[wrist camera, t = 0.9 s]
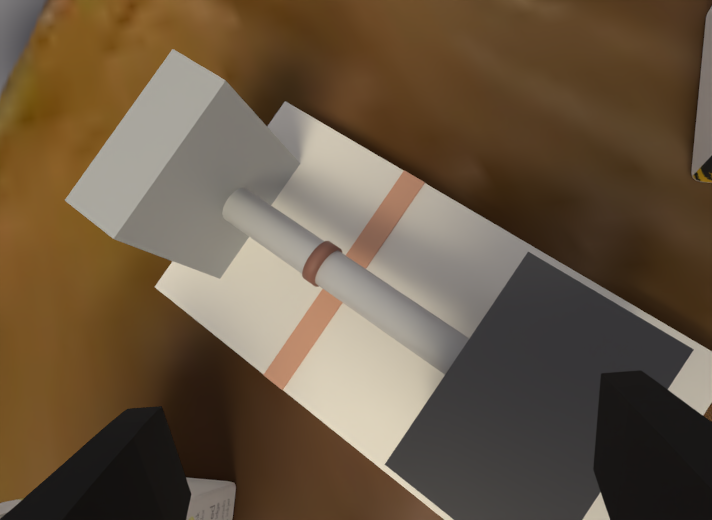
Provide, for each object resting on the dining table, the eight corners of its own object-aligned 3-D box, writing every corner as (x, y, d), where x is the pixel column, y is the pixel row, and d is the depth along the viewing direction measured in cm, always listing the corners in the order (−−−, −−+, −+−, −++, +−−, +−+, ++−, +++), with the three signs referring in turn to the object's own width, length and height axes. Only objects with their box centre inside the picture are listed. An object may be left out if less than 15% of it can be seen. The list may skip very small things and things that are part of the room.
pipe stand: (724, 366, 20) (865, 355, 12) (565, 608, 19) (609, 753, 12) (292, 111, 26) (208, -1, 18) (167, 290, 26) (28, 251, 18)
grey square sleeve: (621, 361, 19) (693, 349, 12) (523, 510, 19) (538, 587, 12) (517, 297, 20) (528, 251, 13) (424, 435, 20) (384, 464, 13)
